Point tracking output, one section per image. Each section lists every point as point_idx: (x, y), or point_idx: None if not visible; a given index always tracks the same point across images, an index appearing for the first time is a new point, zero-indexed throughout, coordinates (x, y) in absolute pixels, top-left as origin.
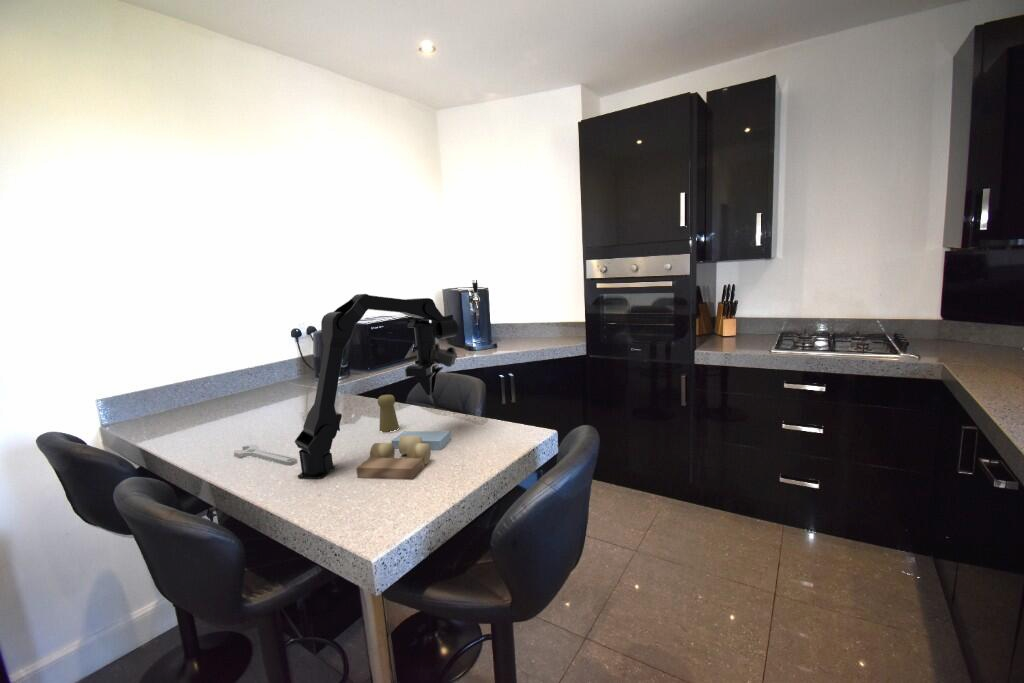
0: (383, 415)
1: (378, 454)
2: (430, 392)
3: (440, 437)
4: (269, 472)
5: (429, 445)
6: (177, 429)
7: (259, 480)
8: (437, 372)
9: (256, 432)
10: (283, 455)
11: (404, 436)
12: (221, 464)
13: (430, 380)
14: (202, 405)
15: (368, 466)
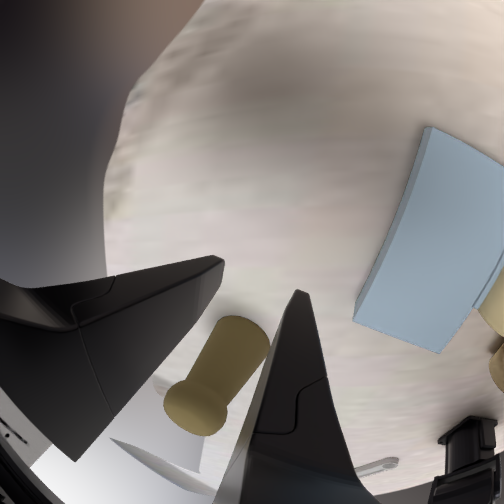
0: (240, 389)
1: None
2: (310, 305)
3: (497, 178)
4: (410, 469)
5: None
6: (201, 483)
7: (434, 469)
8: (25, 328)
9: (219, 465)
10: (360, 472)
11: None
12: None
13: (315, 428)
14: (134, 454)
15: None
